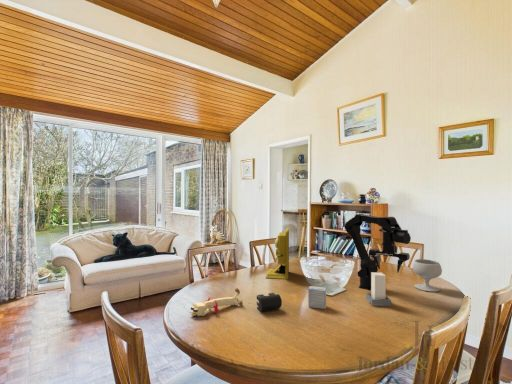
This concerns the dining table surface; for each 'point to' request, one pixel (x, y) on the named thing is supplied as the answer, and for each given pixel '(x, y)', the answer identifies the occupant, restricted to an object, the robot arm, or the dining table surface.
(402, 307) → the dining table surface
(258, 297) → the end cap
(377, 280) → the block
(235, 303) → the cat figure
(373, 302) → the dock tray
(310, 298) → the medicine box
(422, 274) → the chalice
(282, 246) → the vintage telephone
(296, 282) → the dining table surface
